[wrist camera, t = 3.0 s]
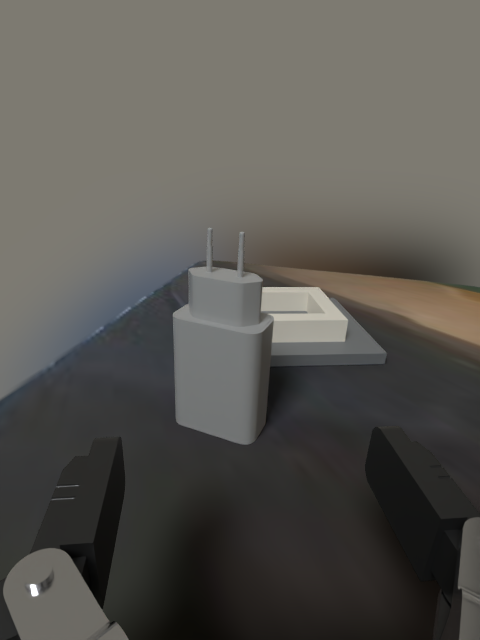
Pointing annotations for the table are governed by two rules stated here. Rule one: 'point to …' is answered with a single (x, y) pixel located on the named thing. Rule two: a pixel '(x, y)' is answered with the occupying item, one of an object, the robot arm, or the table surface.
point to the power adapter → (223, 352)
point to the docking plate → (315, 330)
